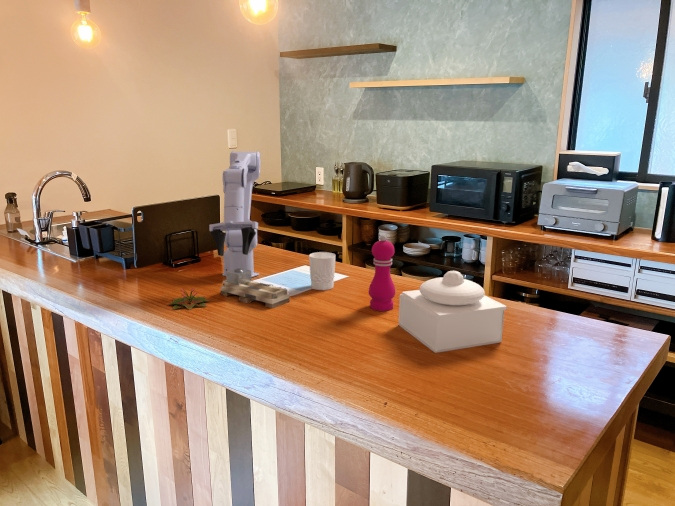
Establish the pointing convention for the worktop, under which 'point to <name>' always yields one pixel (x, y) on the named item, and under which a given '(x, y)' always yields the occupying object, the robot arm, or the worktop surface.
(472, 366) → the worktop surface
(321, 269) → the white cup
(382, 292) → the pepper mill
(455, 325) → the butter dish
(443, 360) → the worktop surface
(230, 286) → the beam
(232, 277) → the block
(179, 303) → the green leafy spiky piece
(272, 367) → the worktop surface
